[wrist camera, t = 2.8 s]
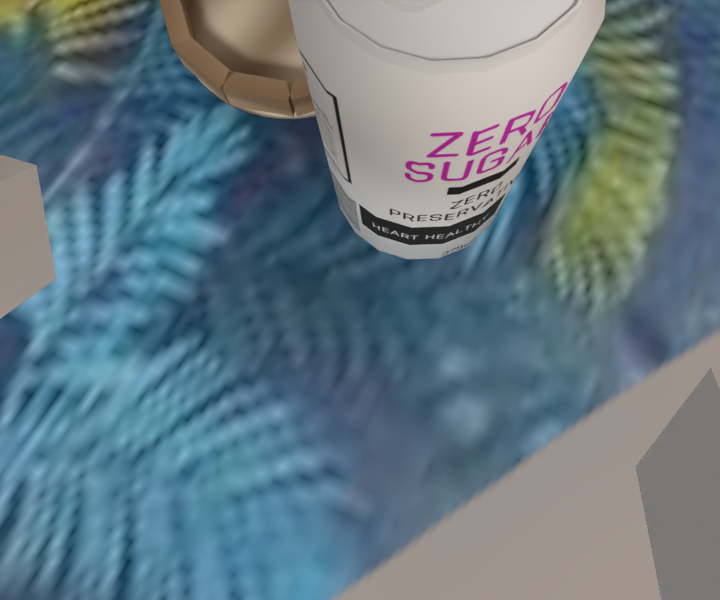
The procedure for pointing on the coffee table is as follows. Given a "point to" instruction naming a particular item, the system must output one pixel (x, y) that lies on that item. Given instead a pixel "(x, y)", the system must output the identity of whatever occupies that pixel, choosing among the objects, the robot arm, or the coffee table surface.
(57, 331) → the coffee table surface
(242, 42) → the ring coaster
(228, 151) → the coffee table surface
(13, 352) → the coffee table surface
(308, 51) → the supplement can
